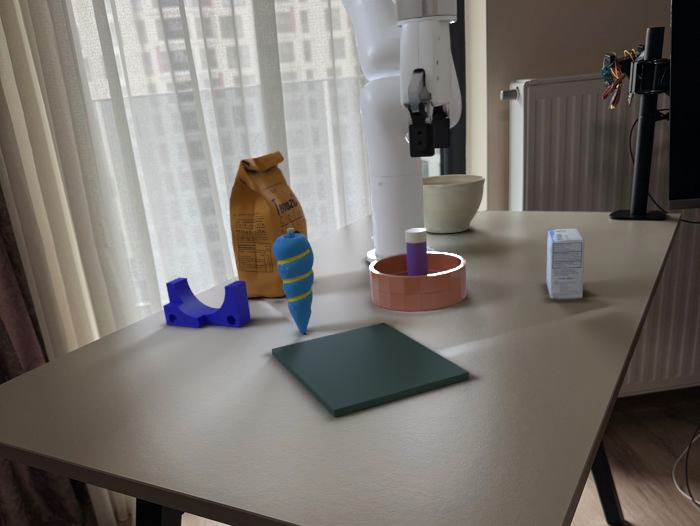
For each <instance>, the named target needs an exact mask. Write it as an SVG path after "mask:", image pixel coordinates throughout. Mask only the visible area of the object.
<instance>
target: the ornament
mask: <svg viewBox="0 0 700 526" xmlns="http://www.w3.org/2000/svg"><path fill="white" fill-rule="evenodd" d="M290 225H291V224H290ZM287 233H288V234H287V235H282V236H280V237H278V238H277V239H276V240H275V242H274V244H273V253H274V256H275V258H276V259H277V261H278V264H277V270H278V273H279V275H280V276H281V278H282V280H283V290H284V292H285V297H286V298H287V307H288V308H287V309H288V311H289V313H290V315H291V317H292V319H293V321H294V322H295V325H296V328H297V329H298V331H299V333H300V334H301V335H304V334H306V331H307V329H308V327H309V322H310V319H311V315H312V303H313V296H314V294H313V289H312V287H313V283H314V280H315V274H314V270H313V266H314V261H315V256H314V251H313V248H312V246H311V244H310V241H309V239H308V240H307V238H306V237H305V236H304V235H302V234H294V228H290V227H289V228H287Z"/></svg>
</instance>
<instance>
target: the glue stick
mask: <svg viewBox="0 0 700 526" xmlns="http://www.w3.org/2000/svg"><path fill="white" fill-rule="evenodd" d="M405 239H406V252H407V272H408V276H422V275H428V264H427V246H428V243H427V242H428V231H427V230H426V229H424V228H412V229H407V230H405Z"/></svg>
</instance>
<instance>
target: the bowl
mask: <svg viewBox="0 0 700 526" xmlns="http://www.w3.org/2000/svg"><path fill="white" fill-rule="evenodd" d="M427 264H428V275H422V276H408V272H407V253H404V254H397V255H392V256H388V257H385V258H382V259H379V260H377V261H375V262H373V263H370V264H369V266H368V272H369V273H368V274H369V288H370V299H371V301H372V303H373V305H376V306H378V307H379V308H383V309H386V310H391V311H398V312H399V311H400V312H425V311H434V310H439V309H444V308H448V307H451V306H454V305H456V304H459V303H461V302H462V301H463V300H465V299H466V298H467V295H468V294H467V293H468V291H467V290H468V289H467V288H468V287H467V286H468V285H467V259H465V258H464V257H463V256H461V255H457V254H455V253H448V252H440V251H434V252H427Z"/></svg>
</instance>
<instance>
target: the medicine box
mask: <svg viewBox="0 0 700 526" xmlns="http://www.w3.org/2000/svg"><path fill="white" fill-rule="evenodd" d="M546 236H547V237H546V238H547V239H546V277H545V278H546V279H545V280H546V282H545V283H546V286H547V289H548V293H549V297H550V299H582V298H583V294H584V293H583V292H584V270H585V269H584V265H585V240H584V238H583V237H582V234H581V233H580V230H579V229H578V228H557V229H550V230H548V231H547V234H546Z"/></svg>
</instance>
